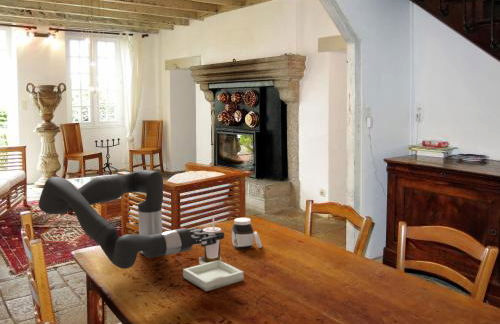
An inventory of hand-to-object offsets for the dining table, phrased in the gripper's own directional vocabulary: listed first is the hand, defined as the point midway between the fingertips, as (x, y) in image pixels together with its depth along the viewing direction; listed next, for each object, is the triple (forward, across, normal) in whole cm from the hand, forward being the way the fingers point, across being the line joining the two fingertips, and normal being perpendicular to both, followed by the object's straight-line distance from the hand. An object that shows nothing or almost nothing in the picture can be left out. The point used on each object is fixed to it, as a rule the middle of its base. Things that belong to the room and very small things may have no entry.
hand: (217, 232), depth 162 cm
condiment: (+7, -16, -16) cm, 24 cm away
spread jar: (+28, -20, -16) cm, 38 cm away
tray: (-2, 0, -16) cm, 16 cm away
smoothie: (-2, 0, -8) cm, 9 cm away
